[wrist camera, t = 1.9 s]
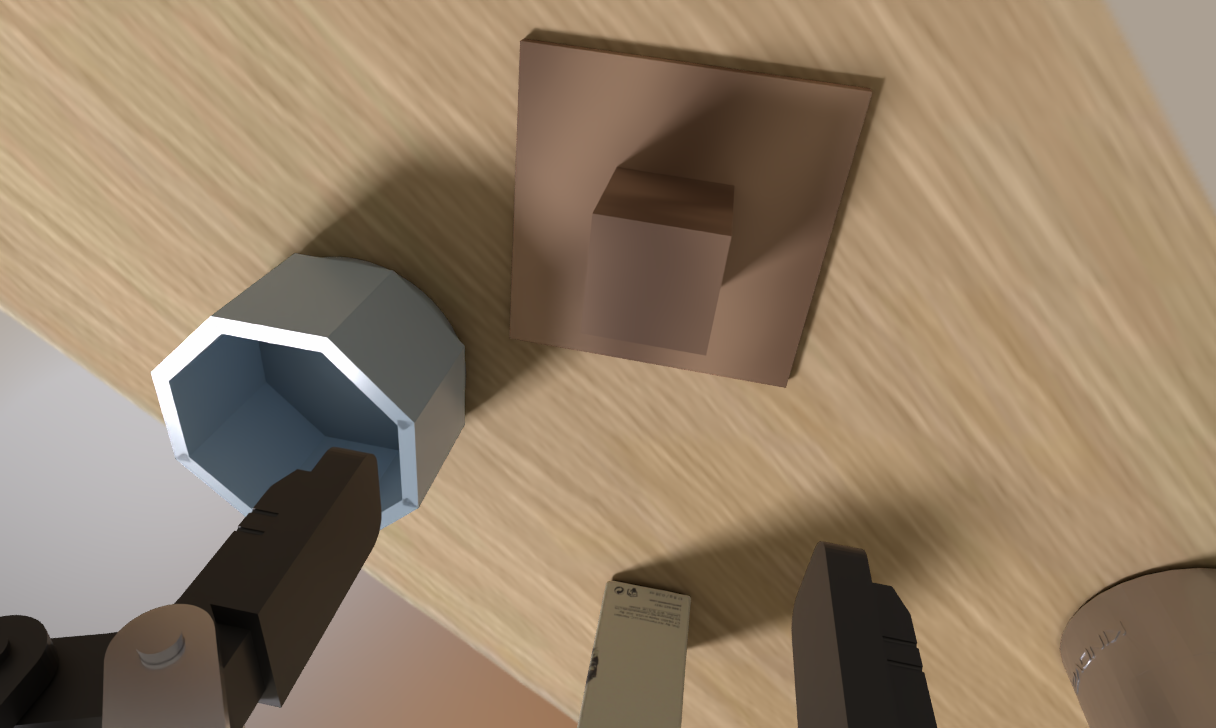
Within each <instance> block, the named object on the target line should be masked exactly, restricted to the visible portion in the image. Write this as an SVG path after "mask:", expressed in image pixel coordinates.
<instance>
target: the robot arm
mask: <svg viewBox="0 0 1216 728" xmlns="http://www.w3.org/2000/svg"><path fill="white" fill-rule="evenodd" d="M381 520H382V510H381V499H380V487H379V476H378V465H377V459H376V457H375V455H374V454H371V453H366V452H360V451H355V450H350V449H345V448H339V447H331V448H330V449H328V450H327V451H326V452H325V454H324V455H323V456H322V458H321V459H320V460H319V462H318V463H317V464H316V466H315V467H314V468H313V469H312V471H311V472H310V471H305V470H300V469H296V470H295V471H293V472H292V473H290V474H289V475H287V476H286V477H284V478H282V479H281V480H279V481H278V482H276V483H275V484H273V485H272V486H270V487H269V489H268V490H267V491H266V492H265V494H264V495H263V496H262V497H261V499H260V500H259V501H258V502H257V503H256V505H255V506H254V507H253V510H252V512H251V513H248V515H247V516H246V517H245V518H244V519H243V521H242V522H241V523H240V524H239V526H238V529H237V531H234V532H233V533H232V534H231V535H230V537H229V538H228V539H227V540H226V542H225V543H224V544H223V545H222V547H221V548H220V549H219V550H218V551H217V553H216V554H215V555H214V556H213V558H212V559H211V560H210V561H209V562H208V564H207V565H206V566H205V567H204V569H203V570H202V571H201V572H200V574H199V575H198V576H197V577H196V578H195V580H194V581H193V582H192V583H191V585H190V586H189V587H188V588H187V589H186V591H185V592H184V593H183V594H182V596H181V597H180V598H179V599H178V600H177V601H176V602H175V603H174V604H172V605H166V606H162V607H158V608H155V609H152V610H150V611H148V612H145V613H143V614H141V615H140V616H138V617H136V618H134V619H133V620H132V621H130V622H129V623H128V624H126V625H125V626H124V627H123V628H122V629H121V630H120V631H119V632H115V633H107V634H96V635H85V636H74V637H63V638H50V637H49V635H48V633H47V631H46V629H45V627H44V625H43V624H41V622H39V621H38V620H36V619H34V618H32V617H28V616H21V615H10V616H2V617H0V728H245V725H244V724H245V723H246V721H247V720H248V718H249V716H250V715H251V713H252V711H253V710H254V708H255V706H256V704H257V703H262V704H266V705H271V706H275V707H280V708H281V707H282V705H283V704H284V702H285V700H286V698H287V697H288V695H289V693H290V691H291V690H292V688H293V686H294V684H295V683H296V681H297V679H298V677H299V676H300V674H301V672H302V670H303V669H304V667H305V665H306V664H307V662H308V660H309V658H310V657H311V655H312V653H313V651H314V650H315V648H316V646H317V644H318V643H319V641H320V639H321V638H322V636H323V634H324V632H325V631H326V629H327V627H328V625H329V624H330V622H331V620H332V618H333V617H334V615H335V613H336V611H337V610H338V608H339V606H340V604H341V603H342V601H343V599H344V597H345V596H346V594H347V592H348V590H349V589H350V587H351V585H352V584H353V582H354V580H355V578H356V577H357V575H358V573H359V571H360V570H361V568H362V566H363V565H364V563H365V561H366V559H367V558H368V556H369V554H370V552H371V551H372V549H373V547H374V545H375V543H376V540H377V537H378V534H379V531H380V526H381ZM792 645H793V660H794V675H795V690H796V704H797V719H798V728H937V724H936V720H935V716H934V712H933V708H932V703H931V699H930V695H929V691H928V687H927V682H926V678H925V674H924V672H922V667H923V665H922V661H921V657H920V653H919V649H918V648H917V647H916V645H917V640H916V636H915V632H914V628H913V623H912V619H911V615H910V613H909V611H908V610H907V608H906V607H905V605H904V604H903V602H902V601H901V599H900V598H899V596H898V595H897V593H896V592H895V590H894V589H893V587H892V586H887V585H882V584H877V583H872V580H871V574H870V569H869V564H868V559H867V555H866V553H865V551H864V550H863V549H859V548H853V547H848V546H843V545H838V544H833V543H827V542H822V541H820V542H818V544H817V545H816V547H815V549H814V552H813V555H812V557H811V560H810V563H809V565H808V568H807V570H806V573H805V576H804V578H803V581H802V583H801V586H800V589H799V591H798V594H797V597H796V600H795V604H794V609H793V616H792ZM1060 653H1061V658H1062V662H1063V665H1064V667H1065V670H1066V672H1067V674H1068V677H1069V679H1070V681H1071V684H1072V686H1073V689H1074V691H1075V693H1076V696H1077V698H1078V701H1079V703H1080V705H1081V708H1082V710H1083V712H1084V715H1085V717H1086V720H1087V722H1088V724H1089V727H1090V728H1216V569H1210V568H1192V569H1178V570H1169V571H1164V572H1159V573H1154V574H1149V575H1145V576H1142V577H1139V578H1136V579H1133V580H1130V581H1127V582H1124V583H1121V584H1119V585H1117V586H1115V587H1113V588H1111V589H1109V590H1107V591H1105V592H1103V593H1101V594H1099V595H1097V596H1096V597H1095V598H1093V599H1092V600H1091V601H1089V602H1088V603H1086V604H1085V605H1084V606H1082V607H1081V608H1080V609H1079V610H1078V612H1077V613H1076V614H1075V615H1074V616H1073V617H1072V618H1071V619H1070V620H1069V622H1068V624H1067V626H1066V628H1065V630H1064V632H1063V634H1062V637H1061V643H1060Z"/></svg>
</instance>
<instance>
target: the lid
mask: <svg viewBox="0 0 1216 728" xmlns="http://www.w3.org/2000/svg"><path fill="white" fill-rule="evenodd" d="M871 96H872V90H871V89H869V88H863V87H856V86H849V85H842V84H835V83H828V82H821V81H814V80H807V79H800V78H793V77H786V76H779V75H772V74H765V73H759V72H752V71H745V70H738V69H731V68H724V67H717V66H710V65H703V64H696V63H689V62H682V61H675V60H668V59H661V58H654V57H648V56H641V55H634V54H627V53H620V52H613V51H606V50H599V49H592V48H585V47H578V46H571V45H564V44H557V43H550V42H544V41H537V40H530V39H523V40H521V41H520V63H519V90H518V117H517V145H516V172H515V200H514V227H513V255H512V282H511V310H510V337H509V338H512V339H518V340H523V341H529V342H534V343H540V344H545V345H551V346H556V347H562V348H568V349H573V350H579V351H584V352H590V353H595V354H601V355H606V356H612V357H618V358H623V359H629V360H634V361H640V362H645V363H651V364H656V365H662V366H668V367H673V368H679V369H684V370H690V371H695V372H701V373H706V374H712V375H717V376H723V377H729V378H734V379H740V380H745V381H751V382H756V383H762V384H767V385H773V386H779V387H784V388H786V386H787V382H788V379H789V375H790V372H791V368H792V365H793V362H794V358H795V355H796V351H797V348H798V345H799V341H800V338H801V334H802V331H803V328H804V324H805V321H806V317H807V314H808V310H809V307H810V304H811V300H812V297H813V293H814V290H815V287H816V283H817V280H818V276H819V273H820V270H821V266H822V263H823V259H824V256H825V253H826V249H827V246H828V242H829V239H830V235H831V232H832V229H833V225H834V222H835V218H836V215H837V212H838V208H839V205H840V201H841V198H842V195H843V191H844V188H845V184H846V181H847V178H848V174H849V171H850V167H851V164H852V160H853V157H854V154H855V150H856V147H857V143H858V140H859V137H860V133H861V130H862V126H863V123H864V120H865V116H866V113H867V109H868V106H869V103H870V99H871Z"/></svg>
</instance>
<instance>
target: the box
mask: <svg viewBox="0 0 1216 728" xmlns="http://www.w3.org/2000/svg"><path fill="white" fill-rule="evenodd" d="M690 605H691V597H690V596H688V595H682V594H677V593H673V592H669V591H664V590H659V589H653V588H648V587H643V586H637V585H632V584H627V583H622V582H617V581H608V582H607V583H606V587H605V591H604V596H603V601H602V606H601V611H600V616H599V621H598V626H597V631H596V636H595V641H594V646H593V651H592V655H591V661H590V666H589V671H588V676H587V681H586V686H585V691H584V696H583V701H582V706H581V711H580V716H579V721H578V726H577V728H681V721H682V706H683V692H684V678H685V665H686V652H687V640H688V627H689V616H690Z"/></svg>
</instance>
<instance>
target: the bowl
mask: <svg viewBox="0 0 1216 728" xmlns="http://www.w3.org/2000/svg"><path fill="white" fill-rule="evenodd" d="M151 375H152V378H153V382H154V385H155V389H156V392H157V396H158V399H159V403H160V406H161V410H162V413H163V417H164V420H165V424H166V427H167V431H168V434H169V438H170V441H171V445H172V448H173V452H174V455H175V459H176V460H177V461H179V462H180V463H181V464H183V465H184V466H185V467H186V468H187V469H189V470H190V471H191V472H192V473H193V474H194V475H196V476H197V477H198V478H199V479H200V480H202V481H203V482H204V483H205V484H207V485H208V486H209V487H210V488H211V489H213V490H214V491H215V492H216V493H217V494H219V495H220V496H221V497H222V498H223V499H225V500H226V501H227V502H228V503H229V504H231V505H232V506H233V507H234V508H236V509H237V510H238V511H239V512H240V513H242V514H243V515H244V516H245V517H246V516H247V515H248V513H251V512H252V510H253V507H254V506H255V505H256V503H257V502H258V501H259V500H260V499H261V497H262V496H263V495H264V494H265V492H266V491H267V490H268V489H269V487H270V486H272V485H273V484H275V483H276V482H278V481H279V480H281V479H282V478H284V477H286V476H287V475H289V474H290V473H292V472H293V471H295V470H296V469H300V470H305V471H310V472H311V471H312V469H313V468H314V467H315V466H316V464H317V463H318V462H319V460H320V459H321V458H322V456H323V455H324V454H325V452H326V451H327V450H328V449H330V448H331V447H339V448H345V449H350V450H355V451H360V452H366V453H371V454H374V455H375V457H376V459H377V465H378V476H379V487H380V499H381V510H382V520H381V526H380V530H381V529H383V528H384V527H386V526H388V525H390V524H391V523H393V522H395V521H397V520H398V519H400V518H402V517H404V516H405V515H407V514H409V513H411V512H412V511H414V510H416V509H418V508H419V506H420V504H421V503H422V501H423V499H424V497H425V495H426V494H427V492H428V490H429V488H430V486H431V485H432V483H433V481H434V479H435V477H436V476H437V474H438V472H439V470H440V468H441V466H442V465H443V463H444V461H445V459H446V457H447V456H448V454H449V452H450V450H451V448H452V447H453V445H454V443H455V441H456V439H457V438H458V436H459V434H460V432H461V430H462V429H463V427H464V425H465V386H466V364H465V346H464V345H463V344H462V343H461V342H460V340H459V339H458V337H457V335H456V333H455V331H454V329H453V327H452V326H451V324H450V323H449V321H448V320H447V318H446V317H445V315H444V314H443V313H442V311H441V310H440V309H439V308H438V307H437V305H436V304H435V303H434V302H433V301H432V300H431V299H430V298H429V297H428V296H427V295H426V294H425V293H424V292H423V291H421V290H420V289H419V288H417V287H416V286H415V285H414V284H412V283H411V282H410V281H408V280H406V279H405V278H403V277H402V276H400V275H398V274H397V273H395V272H394V270H388V269H386V268H384V267H382V266H379V265H376V264H374V263H371V262H368V261H364V260H359V259H355V258H348V257H321V258H319V257H314V256H308V255H302V254H297V253H294V254H293V255H291V256H290V257H289V258H287V259H286V260H285V261H283V262H282V263H281V264H279V265H278V266H277V267H275V268H274V269H273V270H271V271H270V272H269V273H267V274H266V275H265V276H263V277H262V278H261V279H259V280H258V281H257V282H255V283H254V284H253V285H251V286H250V287H249V288H247V289H246V290H245V291H243V292H242V293H241V294H240V295H238V296H237V297H236V298H234V299H233V300H232V301H230V302H229V303H228V304H226V305H225V306H224V307H222V308H221V309H220V310H218V311H217V312H216V313H214V314H213V315H212V316H211V317H210V318H209V319H207V320H206V321H205V322H204V323H203V324H202V325H201V326H200V327H199V328H198V329H197V330H196V331H195V332H193V333H192V334H191V335H190V336H189V337H188V338H187V339H186V340H185V341H184V342H183V343H182V344H181V345H180V346H178V347H177V348H176V349H175V350H174V351H173V352H172V353H171V354H170V355H169V356H168V357H167V358H166V359H164V360H163V361H162V362H161V363H160V364H159V365H158V366H157V367H156V368H155V369H154V370H153V371H151Z"/></svg>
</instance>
